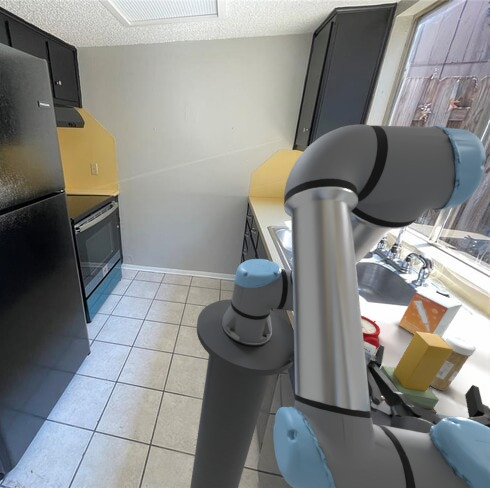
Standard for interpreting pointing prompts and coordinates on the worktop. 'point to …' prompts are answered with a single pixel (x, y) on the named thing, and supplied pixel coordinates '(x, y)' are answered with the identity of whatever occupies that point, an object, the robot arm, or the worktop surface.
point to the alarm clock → (370, 331)
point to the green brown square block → (411, 391)
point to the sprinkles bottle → (453, 361)
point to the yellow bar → (422, 361)
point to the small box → (429, 313)
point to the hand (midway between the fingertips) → (422, 368)
